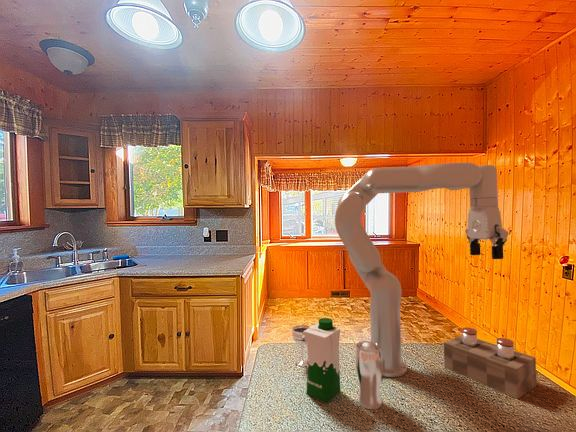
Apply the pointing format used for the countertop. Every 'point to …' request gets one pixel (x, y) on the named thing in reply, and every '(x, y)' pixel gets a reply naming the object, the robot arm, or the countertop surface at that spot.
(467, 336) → the peg left
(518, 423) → the countertop surface
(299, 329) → the wineglass
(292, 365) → the countertop surface
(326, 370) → the milk carton
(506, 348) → the peg right
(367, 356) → the beer glass
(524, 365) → the tan checkered block
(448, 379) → the countertop surface
